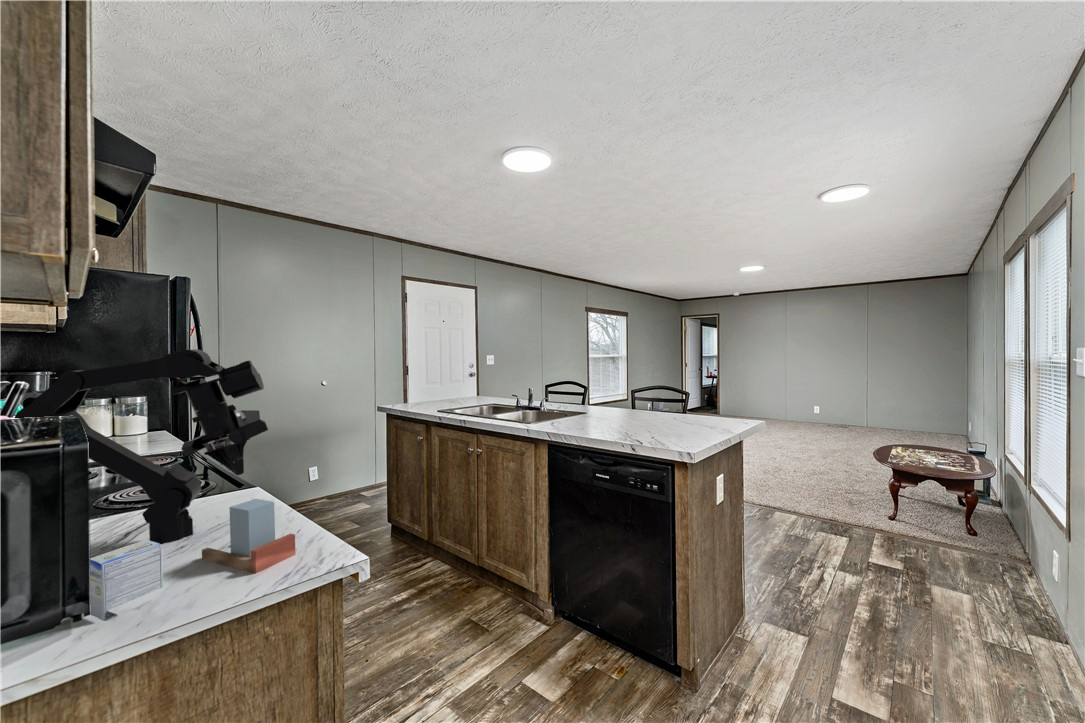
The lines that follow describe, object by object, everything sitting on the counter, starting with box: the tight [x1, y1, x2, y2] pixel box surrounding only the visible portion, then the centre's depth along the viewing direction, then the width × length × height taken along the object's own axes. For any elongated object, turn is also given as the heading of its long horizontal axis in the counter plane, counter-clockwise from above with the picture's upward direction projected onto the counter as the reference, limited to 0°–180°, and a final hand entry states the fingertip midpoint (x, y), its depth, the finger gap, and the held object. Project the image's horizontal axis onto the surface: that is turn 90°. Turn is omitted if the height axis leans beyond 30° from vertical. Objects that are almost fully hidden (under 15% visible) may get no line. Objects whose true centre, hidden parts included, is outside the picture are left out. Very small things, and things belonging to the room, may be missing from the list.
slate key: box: [229, 498, 276, 558], centre depth 86 cm, size 5×5×10 cm
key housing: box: [201, 533, 296, 574], centre depth 87 cm, size 15×9×5 cm, turn 68°
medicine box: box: [89, 539, 164, 621], centre depth 73 cm, size 8×4×9 cm, turn 157°
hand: (240, 474), depth 100 cm, fingers closed
